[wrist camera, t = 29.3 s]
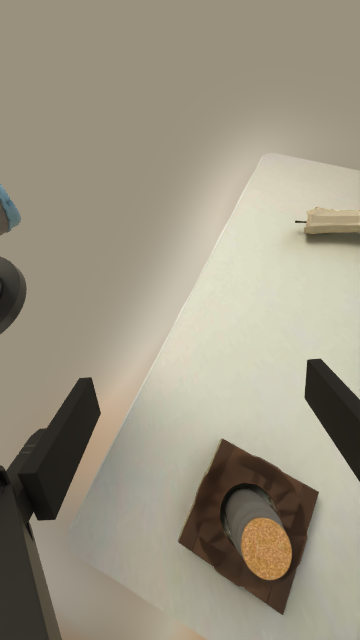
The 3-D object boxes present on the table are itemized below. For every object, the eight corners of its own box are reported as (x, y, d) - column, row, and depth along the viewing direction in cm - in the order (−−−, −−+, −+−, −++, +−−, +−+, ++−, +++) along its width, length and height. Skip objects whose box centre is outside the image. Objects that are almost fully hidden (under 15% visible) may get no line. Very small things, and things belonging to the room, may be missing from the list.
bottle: (264, 540, 38) (297, 597, 24) (222, 528, 38) (231, 577, 25) (267, 492, 40) (299, 519, 26) (228, 482, 41) (238, 504, 27)
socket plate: (178, 533, 39) (175, 542, 35) (220, 436, 43) (221, 436, 40) (276, 600, 35) (284, 618, 31) (310, 486, 40) (321, 491, 36)
